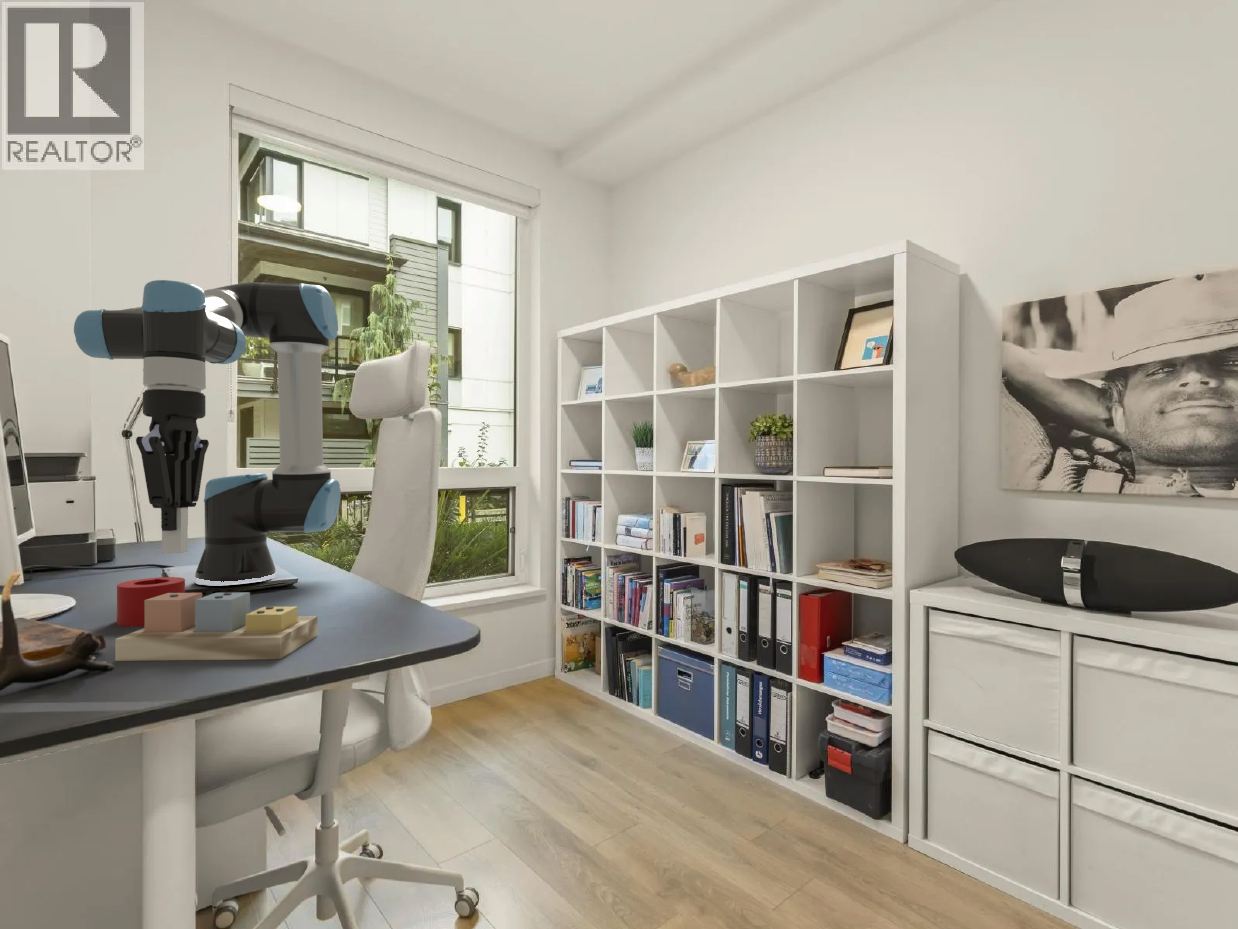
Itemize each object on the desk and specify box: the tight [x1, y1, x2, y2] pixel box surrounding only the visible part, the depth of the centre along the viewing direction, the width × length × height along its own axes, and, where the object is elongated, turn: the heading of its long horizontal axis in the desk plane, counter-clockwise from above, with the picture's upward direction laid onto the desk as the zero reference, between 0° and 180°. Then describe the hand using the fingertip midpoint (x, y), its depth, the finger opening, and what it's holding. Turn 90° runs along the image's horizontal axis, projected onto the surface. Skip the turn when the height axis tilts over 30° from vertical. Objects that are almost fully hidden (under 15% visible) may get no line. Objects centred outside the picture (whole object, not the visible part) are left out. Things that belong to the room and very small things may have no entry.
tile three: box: [246, 606, 298, 632], centre depth 94 cm, size 5×5×5 cm
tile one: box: [144, 592, 203, 633], centre depth 94 cm, size 5×5×5 cm
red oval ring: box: [116, 576, 186, 628], centre depth 114 cm, size 18×9×7 cm, turn 18°
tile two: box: [195, 591, 251, 632], centre depth 94 cm, size 5×5×5 cm
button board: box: [114, 615, 319, 662], centre depth 94 cm, size 12×22×3 cm, turn 92°
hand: (174, 552), depth 94 cm, fingers closed
